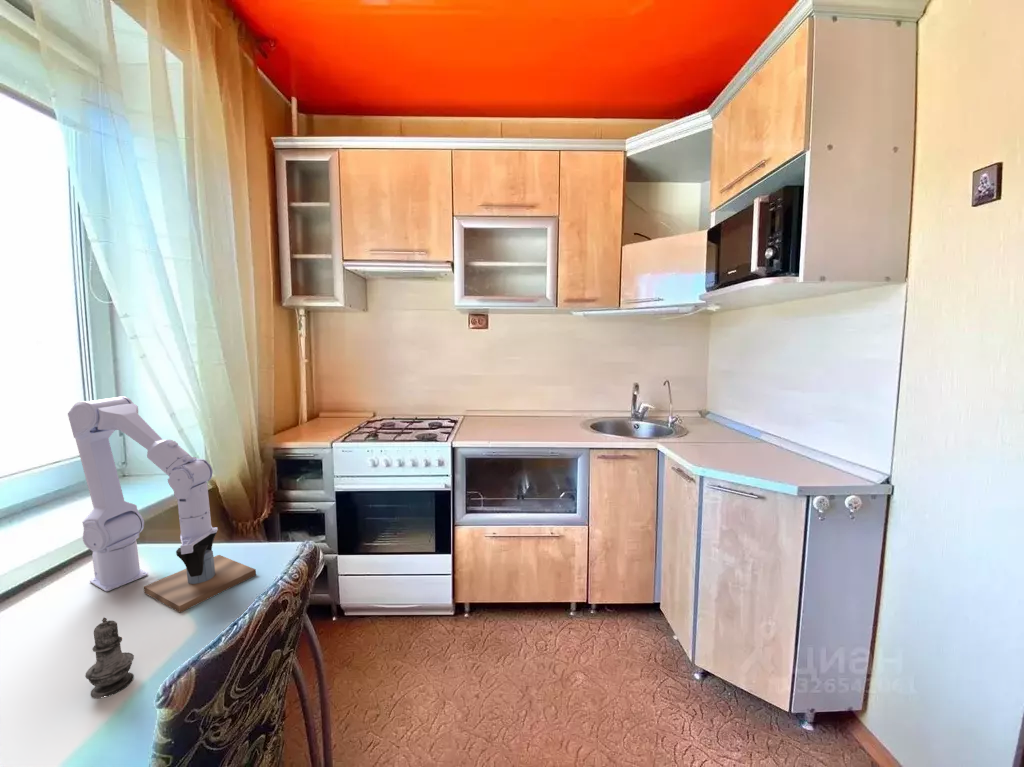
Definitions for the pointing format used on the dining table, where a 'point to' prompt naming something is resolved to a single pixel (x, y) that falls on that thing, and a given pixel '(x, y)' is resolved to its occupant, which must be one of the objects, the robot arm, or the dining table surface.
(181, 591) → the walnut board
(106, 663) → the dark grey tiered piece
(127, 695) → the dining table surface
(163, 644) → the dining table surface
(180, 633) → the dining table surface
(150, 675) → the dining table surface
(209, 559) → the cap
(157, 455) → the robot arm
